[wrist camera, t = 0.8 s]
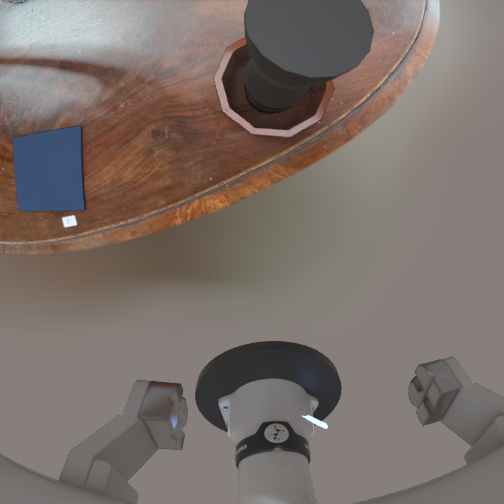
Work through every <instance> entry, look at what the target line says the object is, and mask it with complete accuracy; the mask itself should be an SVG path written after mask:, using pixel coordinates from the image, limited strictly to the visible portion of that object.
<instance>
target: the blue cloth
mask: <svg viewBox="0 0 504 504" xmlns="http://www.w3.org/2000/svg"><path fill="white" fill-rule="evenodd" d="M13 145H14V168H15V181H16V191H17V200H18V208H19V211H48V210H86V208H85V197H84V183H83V161H82V126H78V127H71V128H64V129H58V130H52V131H46V132H41V133H35V134H30V135H26V136H21V137H16V138H13Z"/></svg>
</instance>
